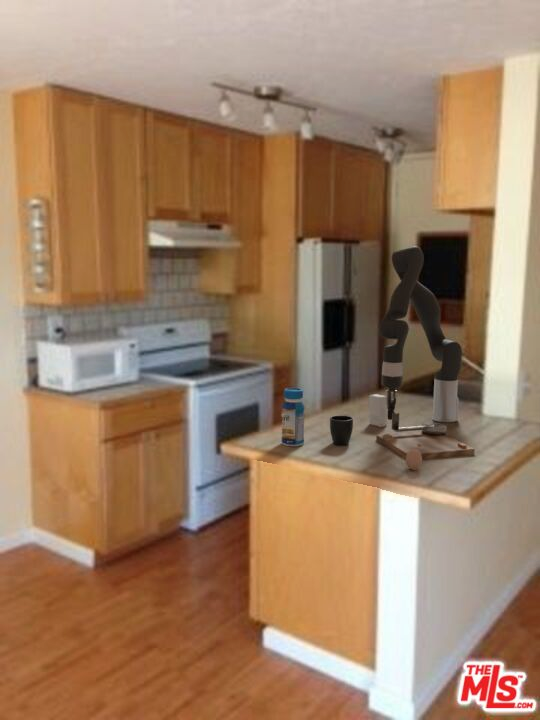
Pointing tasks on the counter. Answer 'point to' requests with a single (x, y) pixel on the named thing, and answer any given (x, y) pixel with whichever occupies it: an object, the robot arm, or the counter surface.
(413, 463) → the egg
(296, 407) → the beverage bottle
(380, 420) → the skincare box
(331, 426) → the mug
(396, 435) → the board
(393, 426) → the crank handle
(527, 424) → the counter surface
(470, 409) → the counter surface
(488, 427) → the counter surface
